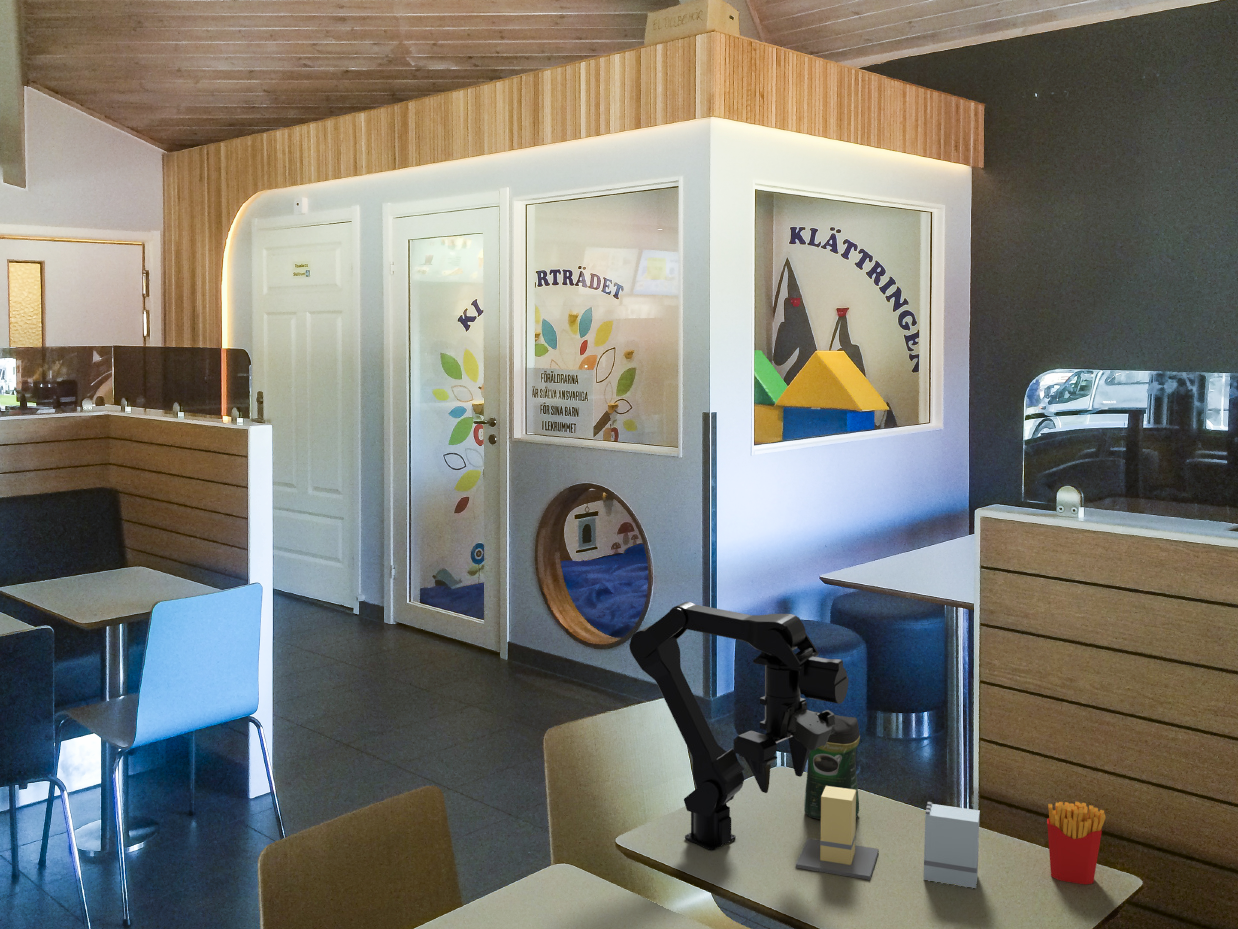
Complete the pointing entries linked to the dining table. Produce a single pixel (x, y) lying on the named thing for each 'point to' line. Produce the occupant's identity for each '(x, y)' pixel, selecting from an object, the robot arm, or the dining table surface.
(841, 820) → the block
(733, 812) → the dining table surface
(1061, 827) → the french fries
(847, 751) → the coffee jar
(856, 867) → the mat
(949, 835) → the knobbed pale slab
